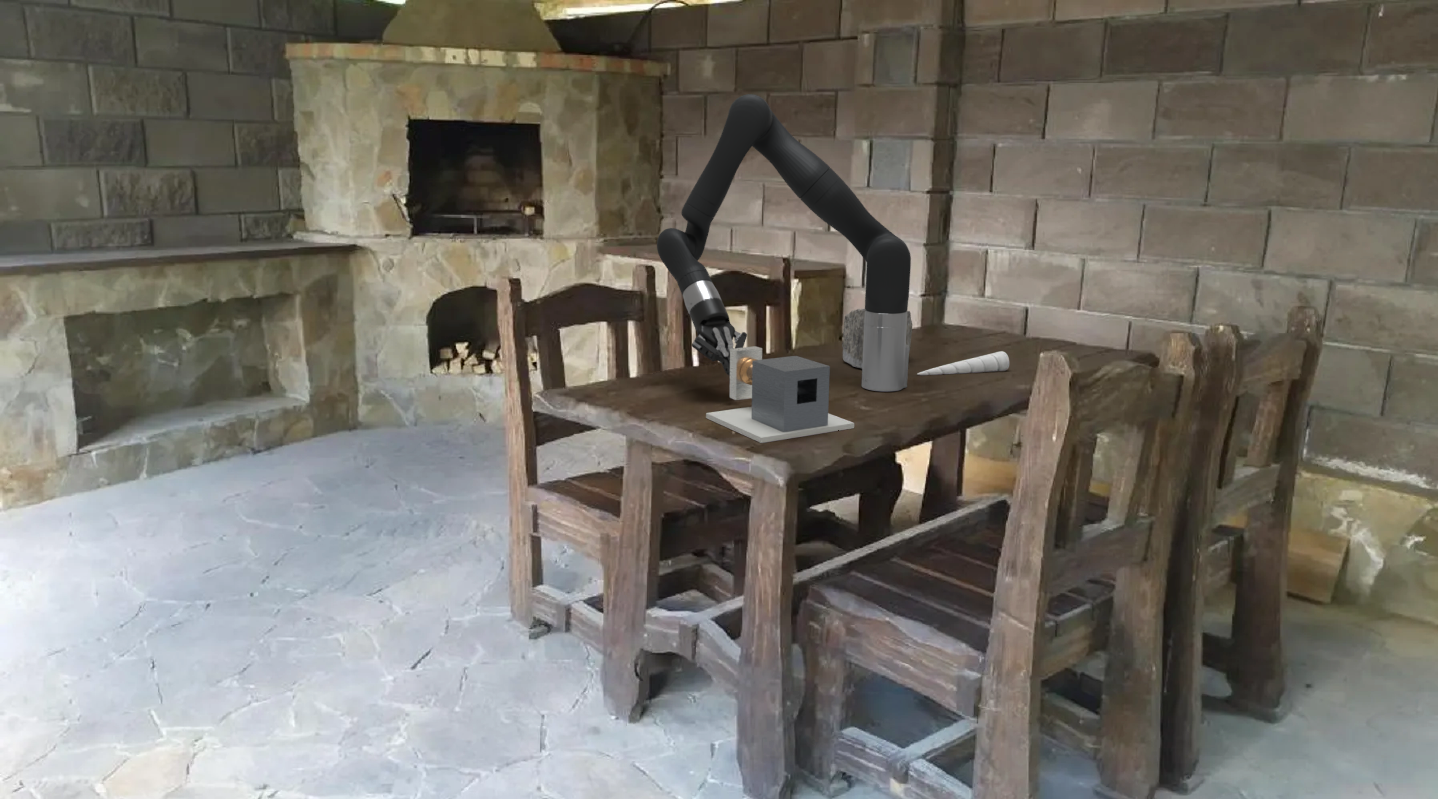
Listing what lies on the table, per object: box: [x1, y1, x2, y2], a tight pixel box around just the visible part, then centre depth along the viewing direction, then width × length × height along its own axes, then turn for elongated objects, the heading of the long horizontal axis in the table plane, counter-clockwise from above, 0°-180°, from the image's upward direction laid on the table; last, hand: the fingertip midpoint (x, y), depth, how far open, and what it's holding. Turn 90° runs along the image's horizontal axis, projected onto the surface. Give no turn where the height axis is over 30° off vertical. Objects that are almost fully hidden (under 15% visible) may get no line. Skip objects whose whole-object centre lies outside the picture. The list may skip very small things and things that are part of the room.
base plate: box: [705, 406, 855, 444], centre depth 199 cm, size 21×20×1 cm
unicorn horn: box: [916, 350, 1010, 376], centre depth 246 cm, size 5×24×5 cm, turn 105°
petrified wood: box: [841, 308, 913, 369], centre depth 253 cm, size 19×17×15 cm
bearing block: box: [751, 355, 831, 432], centre depth 195 cm, size 10×11×11 cm
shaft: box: [729, 345, 763, 401], centre depth 202 cm, size 6×16×10 cm, turn 31°
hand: (734, 374), depth 212 cm, fingers closed
